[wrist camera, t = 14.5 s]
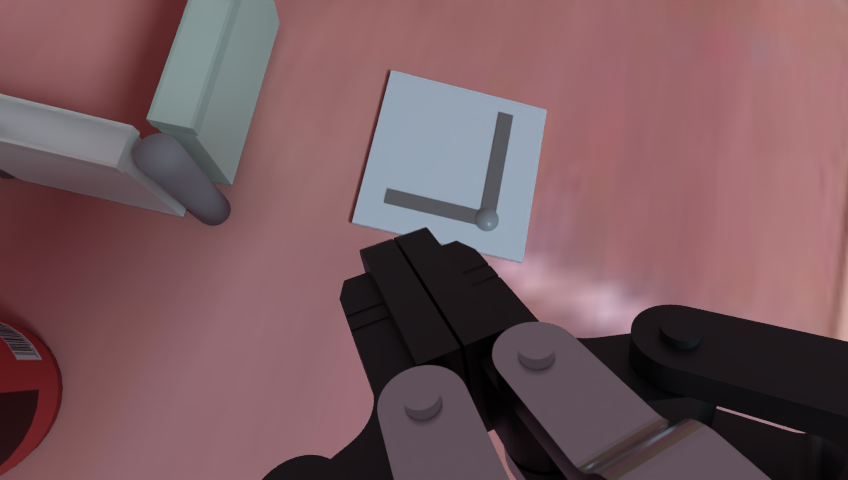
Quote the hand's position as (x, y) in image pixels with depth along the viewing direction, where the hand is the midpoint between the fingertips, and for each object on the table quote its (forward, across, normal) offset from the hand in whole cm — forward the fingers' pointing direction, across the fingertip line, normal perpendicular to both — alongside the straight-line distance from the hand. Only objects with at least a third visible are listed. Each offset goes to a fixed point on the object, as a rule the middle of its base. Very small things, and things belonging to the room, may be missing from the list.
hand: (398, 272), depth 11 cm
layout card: (+17, -8, +6) cm, 20 cm away
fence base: (+20, +11, +3) cm, 23 cm away
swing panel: (+22, +3, +1) cm, 22 cm away
